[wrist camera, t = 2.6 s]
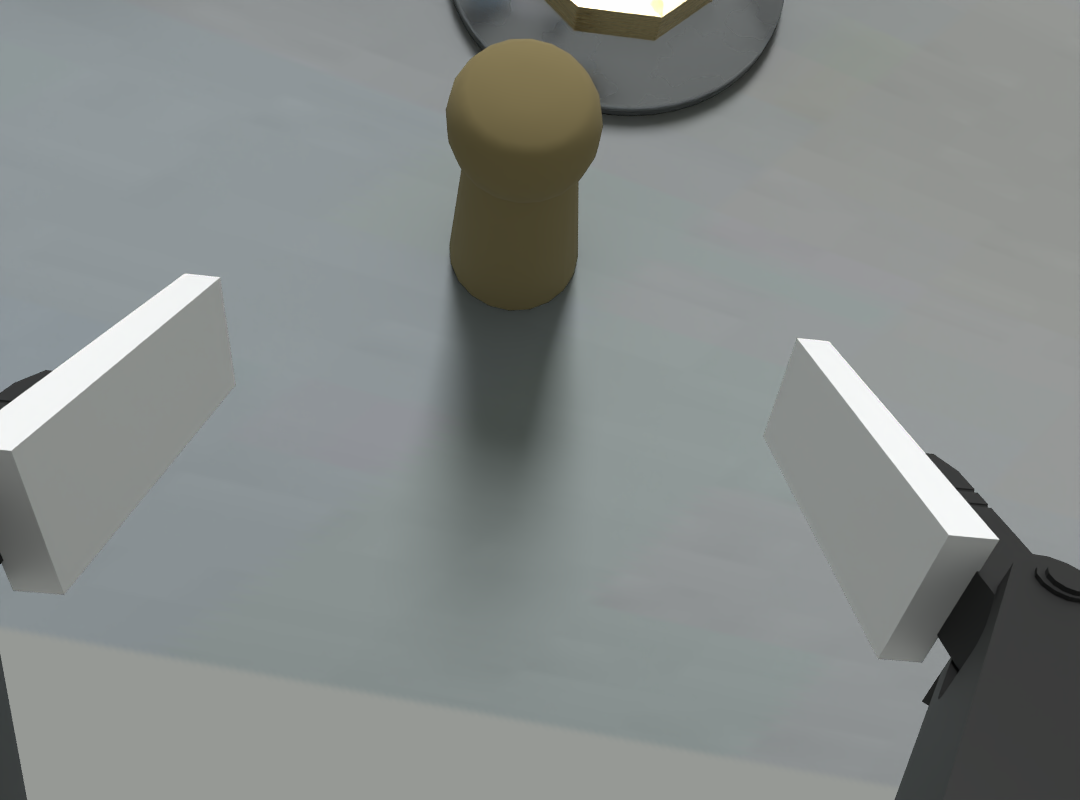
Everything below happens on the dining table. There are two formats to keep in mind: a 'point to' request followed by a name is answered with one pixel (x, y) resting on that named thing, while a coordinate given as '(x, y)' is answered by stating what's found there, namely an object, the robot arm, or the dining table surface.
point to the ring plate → (638, 43)
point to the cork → (520, 170)
